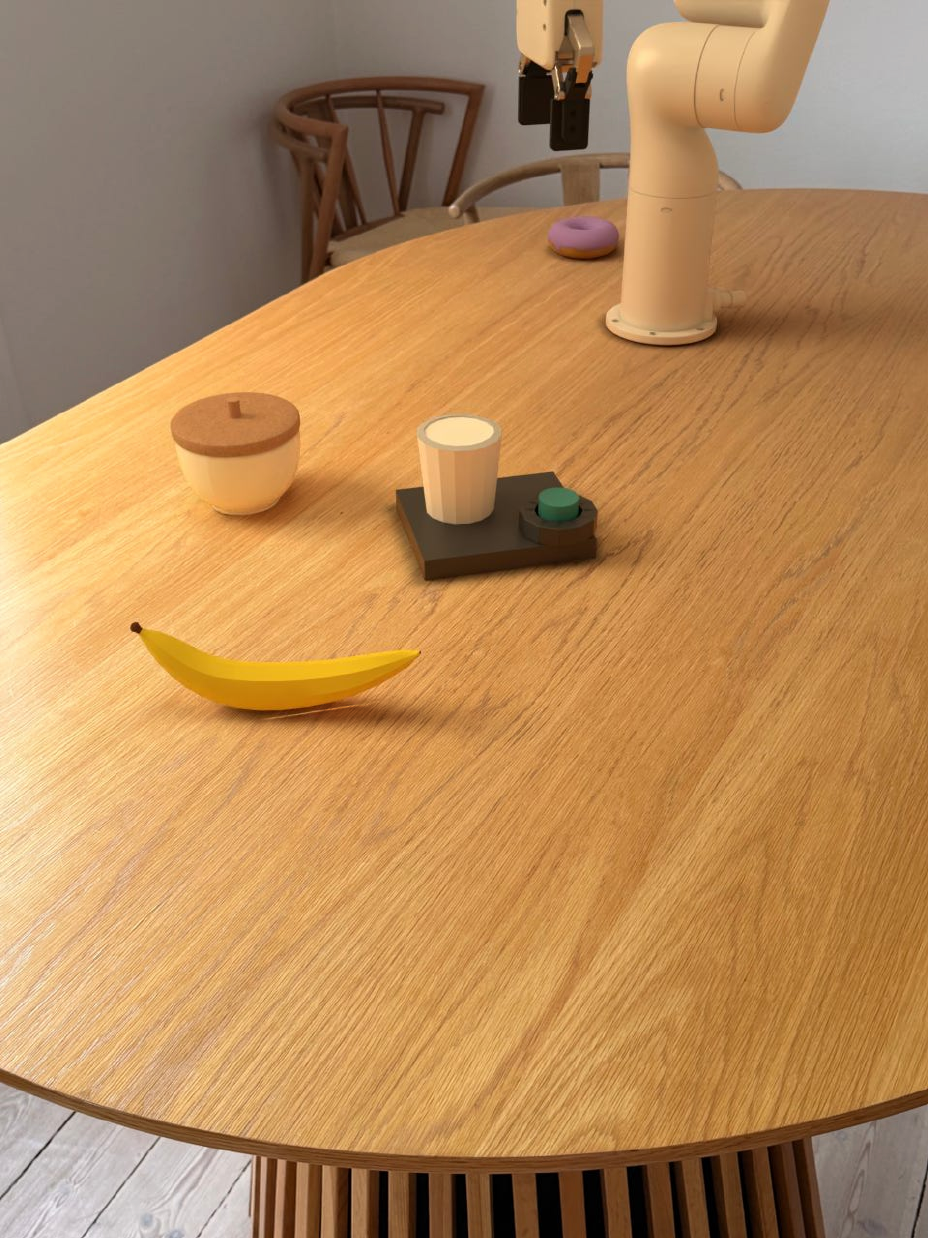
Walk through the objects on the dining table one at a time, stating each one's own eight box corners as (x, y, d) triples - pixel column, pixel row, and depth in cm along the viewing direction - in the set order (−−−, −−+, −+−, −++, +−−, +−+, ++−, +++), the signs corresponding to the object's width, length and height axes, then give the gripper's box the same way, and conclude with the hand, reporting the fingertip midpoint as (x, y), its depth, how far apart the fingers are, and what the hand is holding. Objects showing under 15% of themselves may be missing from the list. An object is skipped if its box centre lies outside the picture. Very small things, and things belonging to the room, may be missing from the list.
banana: (420, 725, 80) (418, 647, 77) (138, 714, 81) (123, 636, 78) (425, 698, 83) (422, 621, 79) (151, 687, 84) (136, 611, 80)
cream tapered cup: (504, 489, 103) (505, 413, 99) (497, 529, 97) (498, 451, 94) (423, 486, 104) (421, 410, 100) (413, 526, 98) (410, 447, 94)
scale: (558, 489, 107) (560, 453, 105) (604, 561, 97) (607, 523, 95) (396, 508, 104) (394, 472, 102) (426, 585, 94) (425, 546, 92)
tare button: (571, 502, 99) (572, 485, 98) (583, 521, 96) (584, 503, 95) (533, 506, 98) (533, 489, 97) (544, 525, 96) (545, 508, 95)
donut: (609, 262, 157) (604, 224, 155) (542, 269, 161) (536, 233, 159) (629, 240, 165) (624, 204, 163) (564, 247, 169) (558, 212, 166)
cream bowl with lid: (326, 480, 109) (318, 382, 103) (273, 538, 100) (261, 434, 95) (220, 463, 112) (207, 367, 106) (159, 518, 103) (142, 416, 98)
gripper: (642, -86, 89) (626, 157, 99) (571, -102, 103) (563, 112, 113) (544, -83, 88) (537, 163, 97) (485, -100, 102) (485, 117, 111)
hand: (551, 136), depth 105 cm, fingers open, 9 cm apart
